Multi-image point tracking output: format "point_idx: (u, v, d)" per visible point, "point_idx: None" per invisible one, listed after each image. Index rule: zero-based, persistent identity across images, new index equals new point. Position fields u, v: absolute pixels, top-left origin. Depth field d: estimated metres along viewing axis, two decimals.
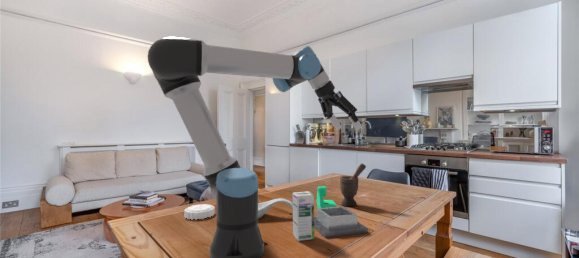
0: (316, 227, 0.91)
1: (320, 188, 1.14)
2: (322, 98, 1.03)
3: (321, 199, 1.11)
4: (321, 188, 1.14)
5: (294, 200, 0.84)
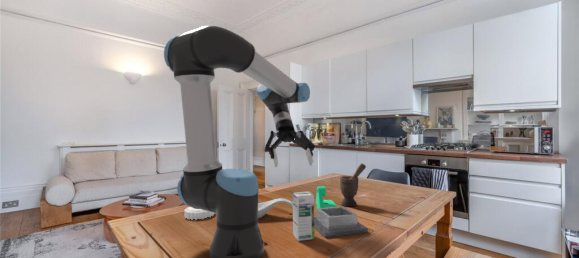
0: (316, 227, 0.91)
1: (319, 188, 1.14)
2: (279, 131, 1.04)
3: (321, 199, 1.11)
4: (320, 188, 1.14)
5: (294, 200, 0.84)
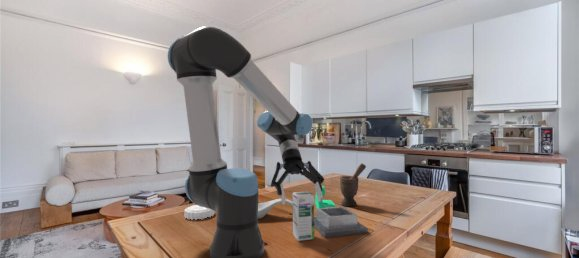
0: (316, 227, 0.91)
1: None
2: (285, 162, 0.98)
3: None
4: None
5: (294, 200, 0.84)
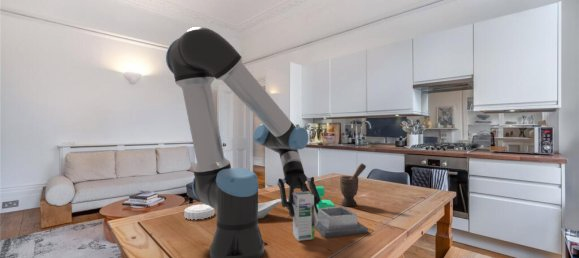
0: (316, 227, 0.91)
1: (318, 188, 1.14)
2: (286, 176, 0.91)
3: None
4: (319, 188, 1.14)
5: (294, 200, 0.84)
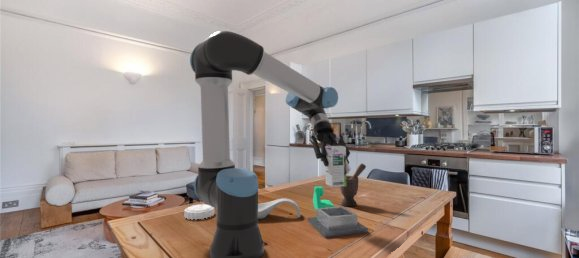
0: (316, 227, 0.91)
1: (317, 188, 1.14)
2: (318, 134, 1.01)
3: (318, 199, 1.11)
4: (318, 188, 1.14)
5: (327, 152, 0.94)
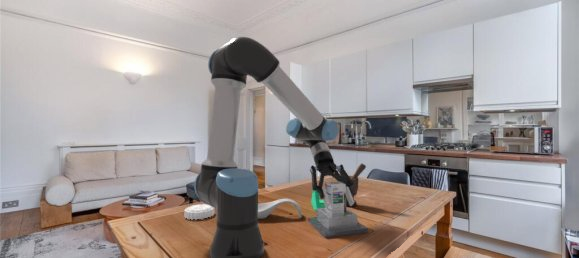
0: (316, 227, 0.91)
1: None
2: (318, 164, 1.01)
3: (317, 199, 1.11)
4: None
5: (327, 189, 0.94)
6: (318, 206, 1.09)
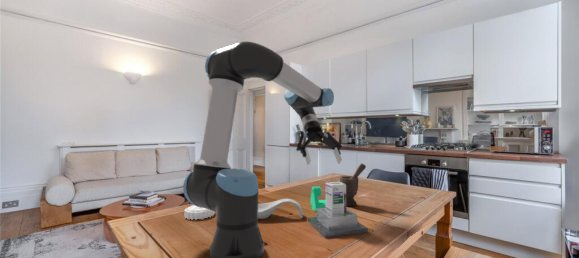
0: (316, 227, 0.91)
1: (315, 188, 1.14)
2: (308, 132, 1.13)
3: (316, 199, 1.11)
4: (316, 188, 1.14)
5: (327, 189, 0.93)
6: (317, 206, 1.09)
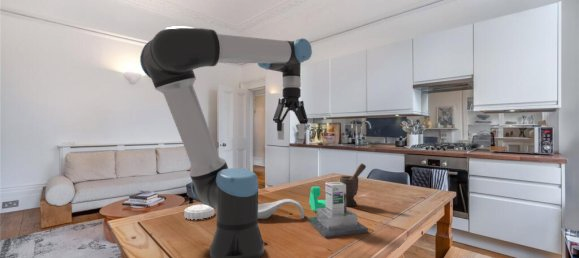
0: (316, 227, 0.91)
1: (314, 188, 1.13)
2: (288, 99, 1.03)
3: (315, 199, 1.11)
4: (315, 188, 1.13)
5: (327, 189, 0.93)
6: (316, 206, 1.09)
